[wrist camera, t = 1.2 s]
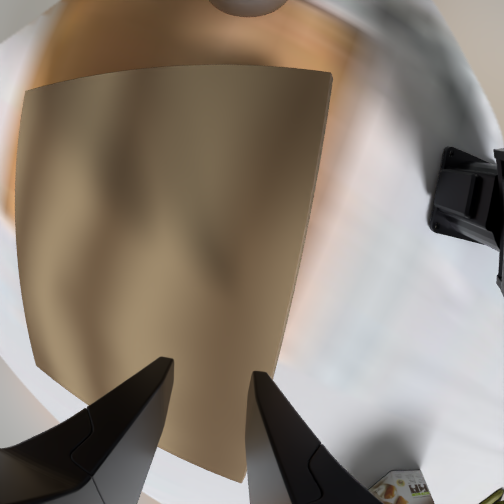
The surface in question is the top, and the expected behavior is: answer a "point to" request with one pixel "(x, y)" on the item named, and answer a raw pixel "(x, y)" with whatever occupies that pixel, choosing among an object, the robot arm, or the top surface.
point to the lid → (168, 234)
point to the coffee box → (402, 488)
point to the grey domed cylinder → (248, 7)
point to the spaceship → (494, 498)
